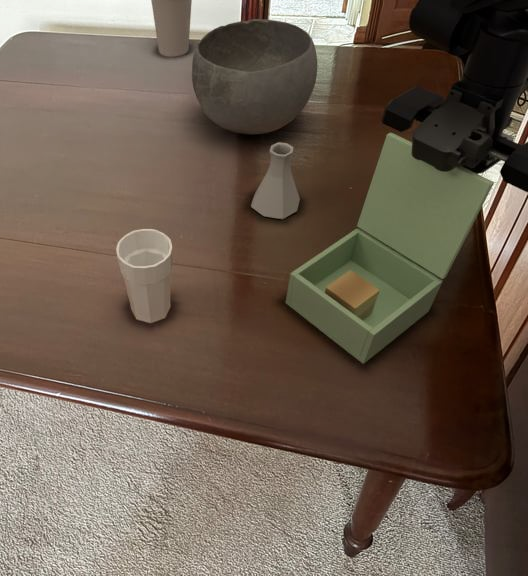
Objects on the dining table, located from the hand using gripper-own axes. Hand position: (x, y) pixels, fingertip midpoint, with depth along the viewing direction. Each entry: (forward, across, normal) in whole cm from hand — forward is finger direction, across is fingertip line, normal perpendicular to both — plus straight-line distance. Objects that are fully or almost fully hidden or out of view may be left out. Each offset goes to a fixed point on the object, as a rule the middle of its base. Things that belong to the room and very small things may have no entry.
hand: (445, 196), depth 68 cm
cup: (+11, -17, -33) cm, 39 cm away
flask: (+11, -21, -6) cm, 25 cm away
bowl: (+11, -40, +7) cm, 42 cm away
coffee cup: (+11, -72, +15) cm, 75 cm away
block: (+10, 0, -15) cm, 18 cm away
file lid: (-2, 0, -7) cm, 7 cm away
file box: (+11, 0, -13) cm, 17 cm away
